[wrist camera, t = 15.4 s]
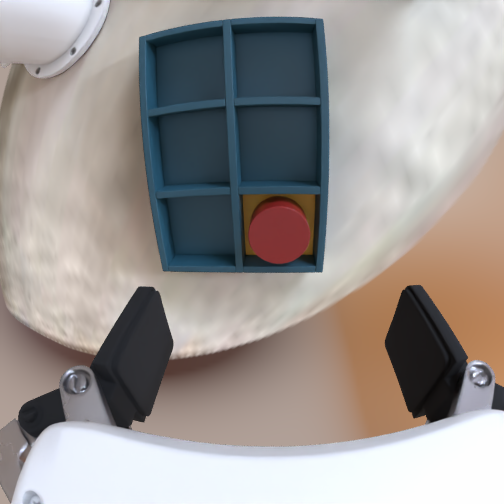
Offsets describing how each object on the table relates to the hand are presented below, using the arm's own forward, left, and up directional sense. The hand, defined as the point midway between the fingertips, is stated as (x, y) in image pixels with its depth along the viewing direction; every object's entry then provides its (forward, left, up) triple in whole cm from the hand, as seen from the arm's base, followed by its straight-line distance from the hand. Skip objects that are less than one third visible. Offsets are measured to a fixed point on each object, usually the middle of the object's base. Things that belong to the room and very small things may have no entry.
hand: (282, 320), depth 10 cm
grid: (-3, +5, -14) cm, 16 cm away
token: (0, -1, -14) cm, 14 cm away
